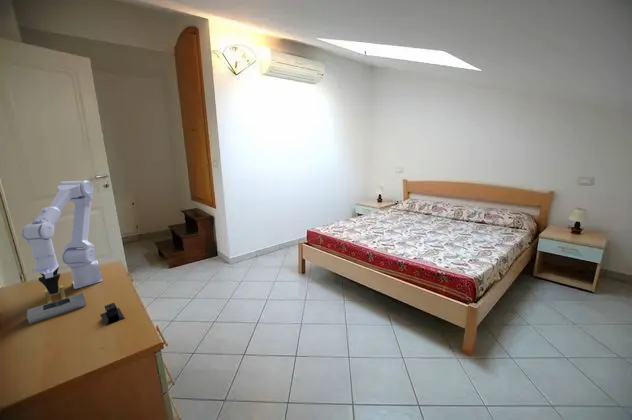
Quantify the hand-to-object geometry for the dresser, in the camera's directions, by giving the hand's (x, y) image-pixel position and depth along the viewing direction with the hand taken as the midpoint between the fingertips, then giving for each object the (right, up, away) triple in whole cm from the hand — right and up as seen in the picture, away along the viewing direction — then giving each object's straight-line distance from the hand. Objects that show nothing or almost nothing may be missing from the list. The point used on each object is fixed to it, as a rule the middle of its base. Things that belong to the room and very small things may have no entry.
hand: (53, 289), depth 104 cm
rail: (+6, -7, -4) cm, 10 cm away
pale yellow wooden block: (0, -5, +1) cm, 6 cm away
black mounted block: (+28, -8, -8) cm, 30 cm away
